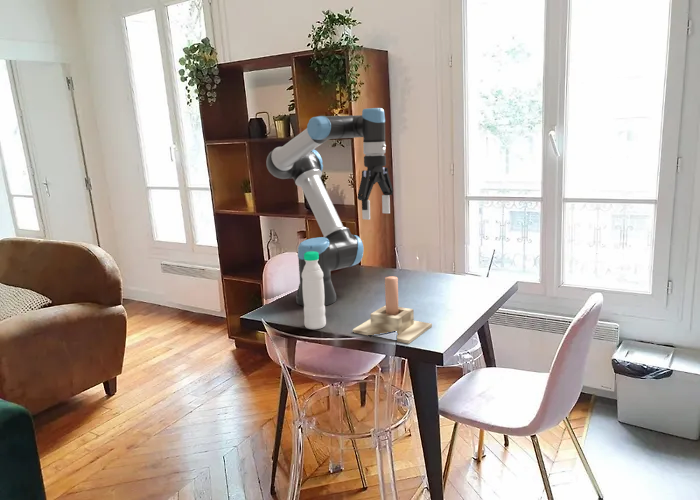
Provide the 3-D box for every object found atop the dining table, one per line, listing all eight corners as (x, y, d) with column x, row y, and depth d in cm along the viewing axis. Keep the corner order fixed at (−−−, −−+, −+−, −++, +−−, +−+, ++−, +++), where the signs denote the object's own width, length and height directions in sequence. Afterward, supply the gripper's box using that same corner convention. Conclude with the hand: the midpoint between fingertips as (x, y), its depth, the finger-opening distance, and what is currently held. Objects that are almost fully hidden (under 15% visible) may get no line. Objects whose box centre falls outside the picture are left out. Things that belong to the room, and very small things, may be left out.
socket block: (352, 332, 173) (351, 314, 172) (378, 317, 186) (377, 300, 185) (409, 343, 162) (408, 324, 161) (432, 326, 175) (431, 308, 174)
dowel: (384, 327, 173) (382, 278, 170) (390, 323, 177) (388, 275, 173) (395, 329, 171) (393, 280, 168) (401, 325, 175) (400, 277, 171)
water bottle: (326, 321, 183) (322, 249, 178) (326, 329, 177) (322, 254, 171) (305, 323, 183) (300, 250, 178) (304, 330, 176) (299, 255, 171)
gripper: (364, 157, 174) (367, 222, 179) (401, 152, 195) (402, 211, 199) (345, 157, 178) (348, 221, 183) (383, 152, 199) (385, 210, 203)
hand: (376, 216), depth 191 cm, fingers open, 13 cm apart
